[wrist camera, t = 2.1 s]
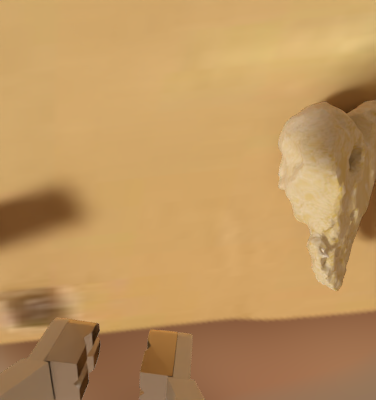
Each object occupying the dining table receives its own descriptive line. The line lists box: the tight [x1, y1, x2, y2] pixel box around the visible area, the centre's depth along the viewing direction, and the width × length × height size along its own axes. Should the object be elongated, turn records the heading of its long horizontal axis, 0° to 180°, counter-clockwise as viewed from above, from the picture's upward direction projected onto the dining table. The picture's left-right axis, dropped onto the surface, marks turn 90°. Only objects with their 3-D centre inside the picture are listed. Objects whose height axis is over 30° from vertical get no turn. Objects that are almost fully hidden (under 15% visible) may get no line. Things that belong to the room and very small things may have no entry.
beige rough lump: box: [278, 100, 376, 291], centre depth 26 cm, size 15×7×15 cm
